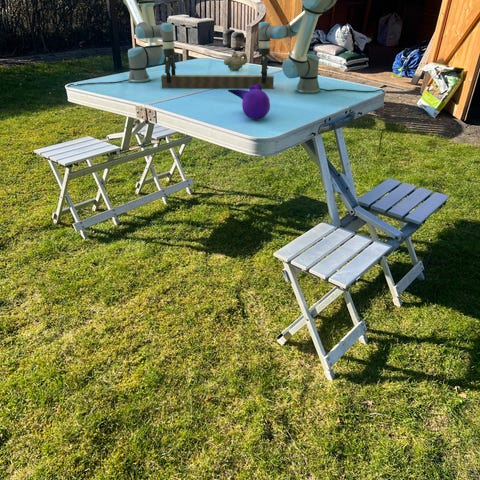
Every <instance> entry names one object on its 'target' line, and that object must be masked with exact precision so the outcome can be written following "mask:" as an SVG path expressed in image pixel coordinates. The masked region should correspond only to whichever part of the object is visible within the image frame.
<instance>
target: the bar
mask: <svg viewBox="0 0 480 480" xmlns="http://www.w3.org/2000/svg"><path fill="white" fill-rule="evenodd" d="M170 75H171V83H167V76H166V74H162V75H161V76H160V81H161V87H162V89H219V90H220V89H222V90H223V89H224V90H225V89H227V90H245V89H246V90H250V87H251V86H253V85H256V84H259V85H261V87H262V90H274V86H275V85H274V82H275V81H274V80H275V76H274V75H270V74H269V75H268V74H267V75H266V83H262V74H261V75H259V74H258V75H257V74H256V75H253V74H249V75H248V74H245V75H244V74H241V75H239V74H238V75H237V74H176V75H172V74H170Z"/></svg>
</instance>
